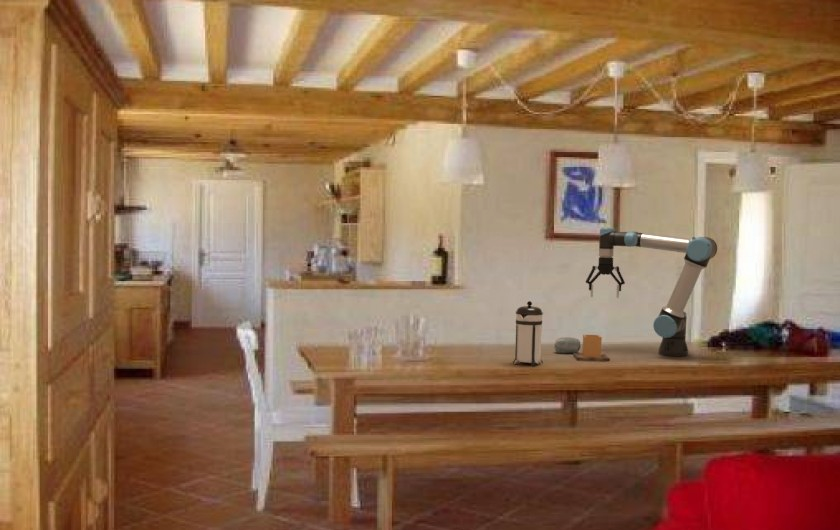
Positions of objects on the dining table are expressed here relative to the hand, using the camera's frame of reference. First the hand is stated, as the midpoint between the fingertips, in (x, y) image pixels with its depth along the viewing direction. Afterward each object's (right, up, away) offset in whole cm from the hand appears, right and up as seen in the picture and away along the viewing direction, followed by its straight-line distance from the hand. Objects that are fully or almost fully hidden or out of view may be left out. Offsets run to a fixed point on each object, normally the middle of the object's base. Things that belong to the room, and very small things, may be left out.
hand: (604, 297), depth 474 cm
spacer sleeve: (-12, -28, -26) cm, 40 cm away
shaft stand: (-12, -30, -26) cm, 41 cm away
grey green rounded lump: (-21, -29, -8) cm, 37 cm away
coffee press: (-46, -30, -45) cm, 71 cm away
